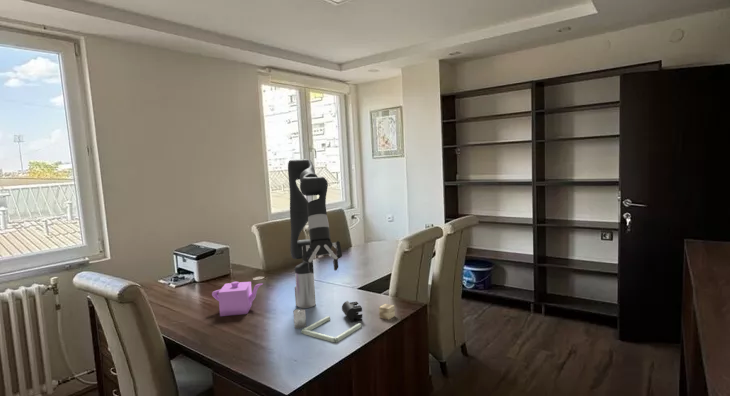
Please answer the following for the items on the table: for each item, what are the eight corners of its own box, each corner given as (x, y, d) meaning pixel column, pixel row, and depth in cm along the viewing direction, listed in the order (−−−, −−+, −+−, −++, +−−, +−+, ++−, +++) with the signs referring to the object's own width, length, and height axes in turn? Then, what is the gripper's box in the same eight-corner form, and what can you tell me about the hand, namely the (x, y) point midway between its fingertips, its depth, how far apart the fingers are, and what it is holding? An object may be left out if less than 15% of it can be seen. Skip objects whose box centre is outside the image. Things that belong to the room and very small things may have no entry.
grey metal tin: (292, 327, 174) (291, 311, 173) (300, 323, 178) (299, 308, 177) (300, 329, 171) (299, 313, 170) (308, 325, 175) (307, 309, 174)
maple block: (379, 317, 180) (379, 307, 179) (385, 314, 184) (384, 303, 183) (389, 319, 177) (388, 308, 176) (394, 316, 181) (394, 305, 180)
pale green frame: (301, 333, 167) (301, 329, 167) (328, 319, 181) (328, 316, 181) (335, 342, 156) (335, 339, 156) (361, 327, 170) (361, 323, 170)
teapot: (262, 312, 194) (260, 284, 193) (209, 317, 191) (207, 288, 190) (266, 302, 209) (264, 275, 208) (217, 306, 206) (214, 279, 205)
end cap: (342, 315, 184) (341, 301, 184) (356, 313, 186) (356, 299, 186) (347, 323, 175) (346, 308, 174) (362, 321, 177) (362, 306, 176)
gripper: (335, 228, 154) (341, 270, 150) (298, 232, 150) (303, 275, 146) (339, 224, 147) (345, 268, 143) (300, 227, 143) (305, 273, 139)
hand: (324, 271), depth 144 cm, fingers open, 8 cm apart
